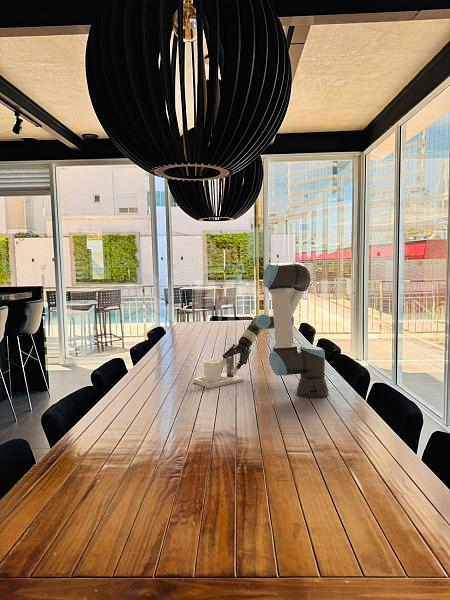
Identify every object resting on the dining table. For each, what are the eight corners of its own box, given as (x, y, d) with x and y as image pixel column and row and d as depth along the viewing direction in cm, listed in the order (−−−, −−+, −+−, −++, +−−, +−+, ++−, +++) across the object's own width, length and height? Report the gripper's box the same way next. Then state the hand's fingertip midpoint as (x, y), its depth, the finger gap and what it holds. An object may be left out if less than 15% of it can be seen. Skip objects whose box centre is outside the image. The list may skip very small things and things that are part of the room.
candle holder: (200, 384, 230) (199, 362, 229) (209, 379, 239) (209, 358, 238) (216, 386, 226) (216, 363, 225) (225, 381, 234) (224, 359, 233)
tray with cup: (243, 380, 235) (243, 358, 234) (210, 388, 221) (209, 365, 220) (225, 374, 248) (225, 353, 247) (193, 382, 234) (192, 360, 233)
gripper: (264, 346, 238) (244, 379, 230) (237, 340, 257) (217, 370, 249) (257, 338, 234) (236, 371, 226) (230, 333, 253) (209, 363, 245)
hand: (226, 371), depth 237 cm, fingers open, 11 cm apart
